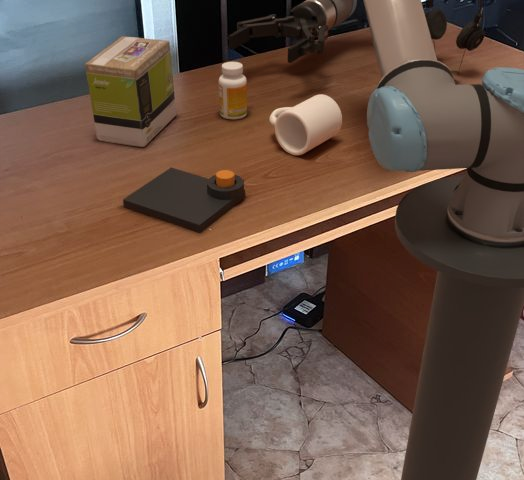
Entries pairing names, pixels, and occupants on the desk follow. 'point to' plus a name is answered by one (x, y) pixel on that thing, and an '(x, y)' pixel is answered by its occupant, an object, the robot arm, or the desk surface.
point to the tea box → (131, 90)
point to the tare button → (225, 178)
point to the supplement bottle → (232, 91)
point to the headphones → (469, 34)
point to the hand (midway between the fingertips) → (259, 49)
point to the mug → (306, 124)
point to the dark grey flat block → (185, 199)
